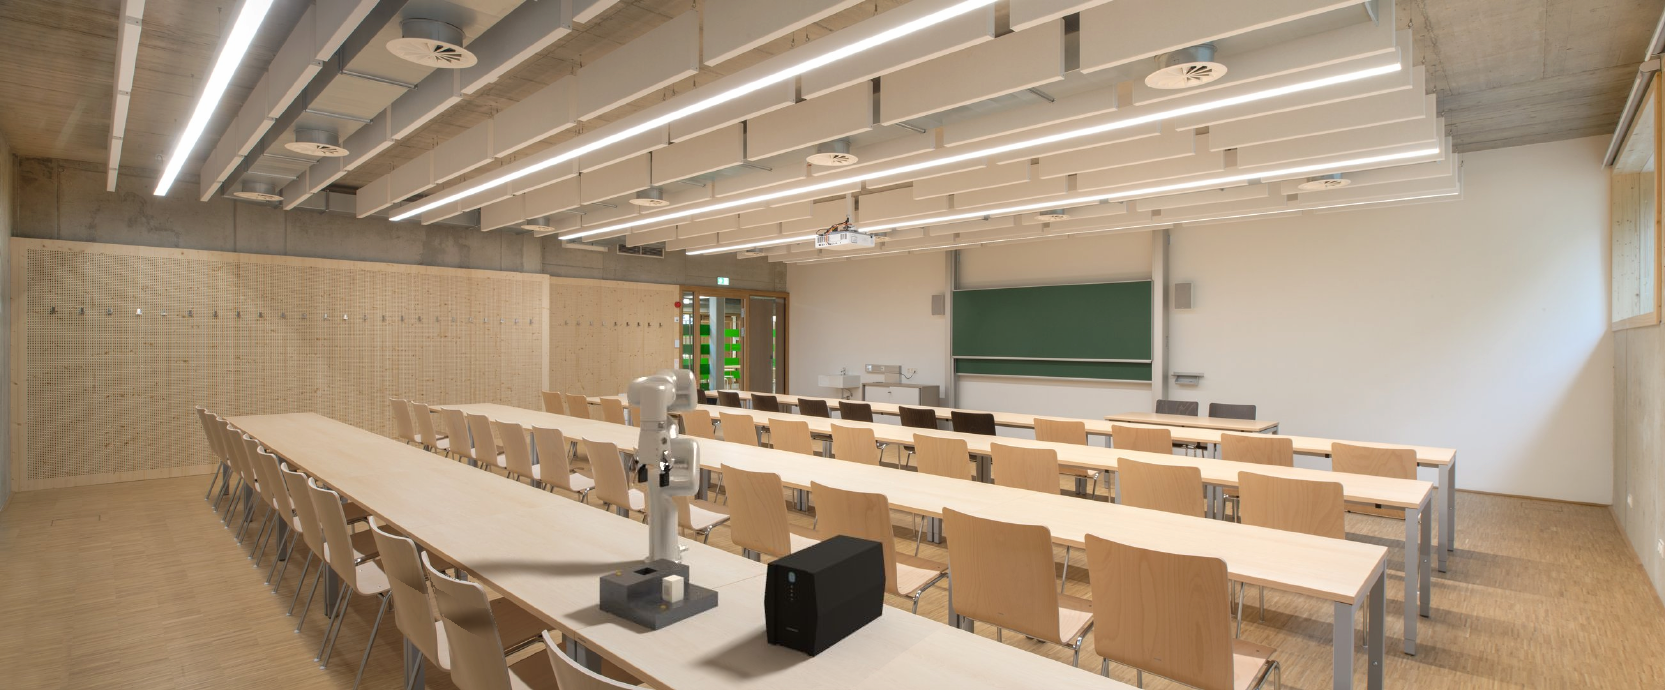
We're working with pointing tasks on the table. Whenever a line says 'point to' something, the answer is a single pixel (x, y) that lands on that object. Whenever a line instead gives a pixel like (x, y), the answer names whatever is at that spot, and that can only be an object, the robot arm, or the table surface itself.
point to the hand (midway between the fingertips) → (653, 484)
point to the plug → (673, 588)
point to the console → (652, 595)
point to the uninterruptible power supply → (824, 593)
